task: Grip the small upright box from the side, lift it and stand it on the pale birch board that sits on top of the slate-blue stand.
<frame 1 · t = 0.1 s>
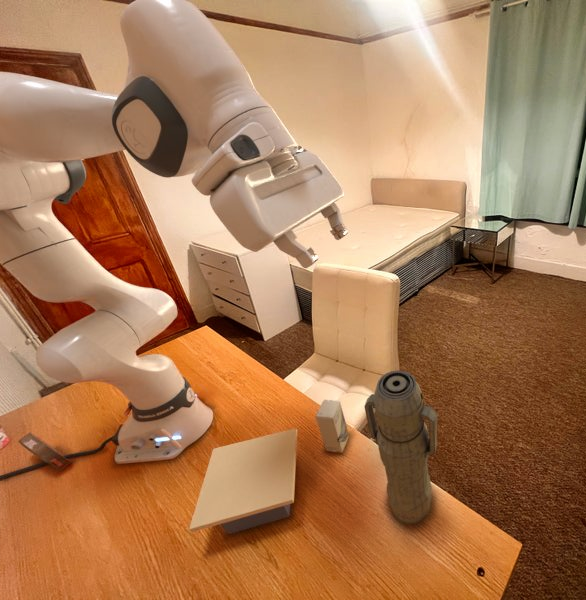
hand: (329, 249, 42), 54 cm above the table, tool tilted 30°, fingers open, 8 cm apart
stand: (263, 495, 68), on the table
box: (338, 443, 77), on the table
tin: (56, 461, 79), on the table
thermos: (410, 501, 65), on the table
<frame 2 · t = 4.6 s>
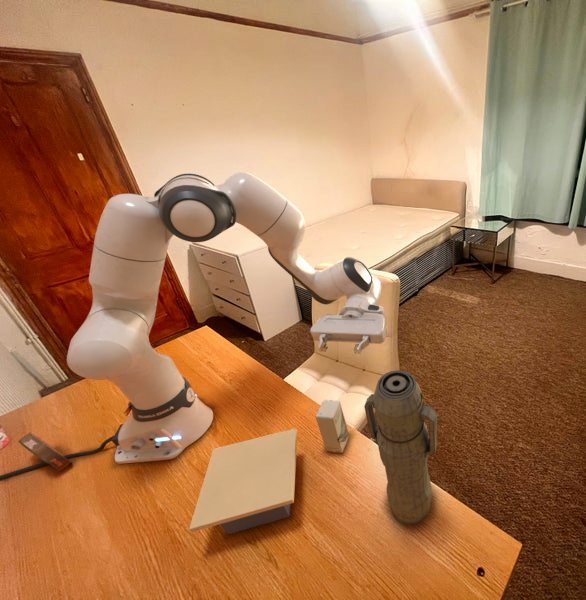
hand: (338, 350, 76), 21 cm above the table, tool horizontal, fingers open, 8 cm apart
nothing on the table moved.
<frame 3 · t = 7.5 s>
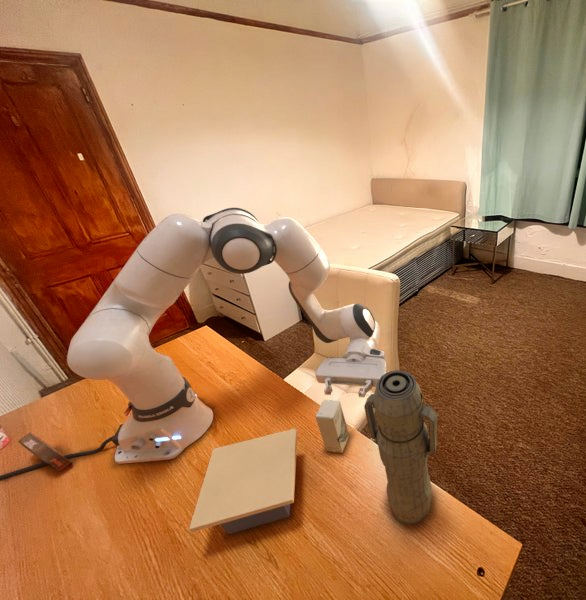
hand: (344, 394, 81), 7 cm above the table, tool horizontal, fingers open, 8 cm apart
nothing on the table moved.
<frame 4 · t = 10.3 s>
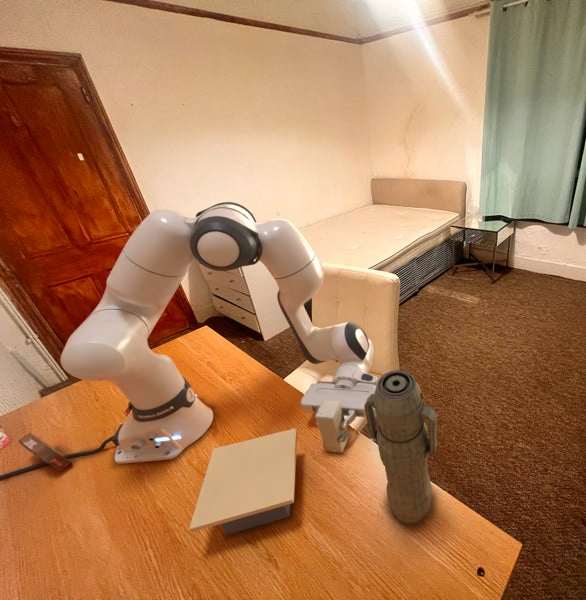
hand: (331, 427, 73), 7 cm above the table, tool horizontal, fingers closed on box, 4 cm apart
box: (338, 443, 77), on the table, touching gripper
everything else where it was.
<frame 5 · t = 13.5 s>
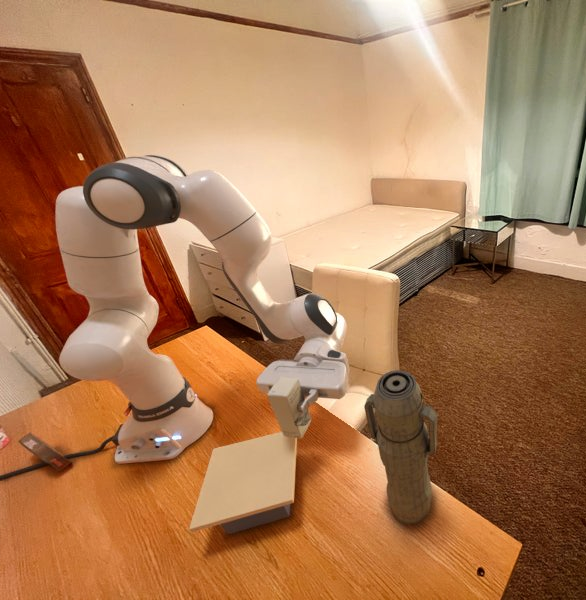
hand: (288, 409, 63), 20 cm above the table, tool horizontal, fingers closed on box, 4 cm apart
box: (298, 428, 67), point 12 cm above the table, touching gripper
everything else where it was.
when the fingers open (16 cm above the table, at t = 17.0 s): box stays where it is, resting on stand.
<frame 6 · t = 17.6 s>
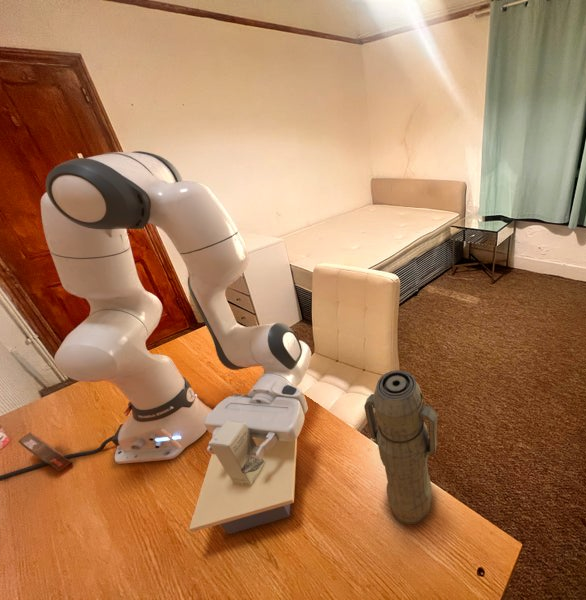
hand: (233, 454, 58), 17 cm above the table, tool horizontal, fingers open, 8 cm apart
box: (250, 472, 63), point 9 cm above the table, touching stand
everything else where it was.
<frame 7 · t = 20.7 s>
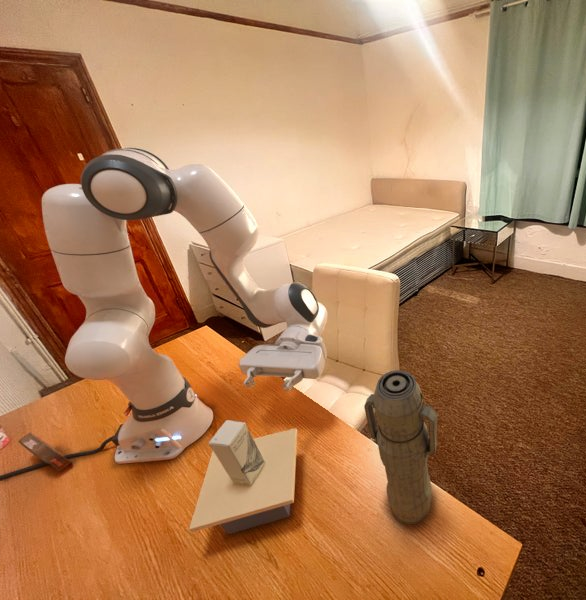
hand: (266, 387, 68), 20 cm above the table, tool horizontal, fingers open, 8 cm apart
nothing on the table moved.
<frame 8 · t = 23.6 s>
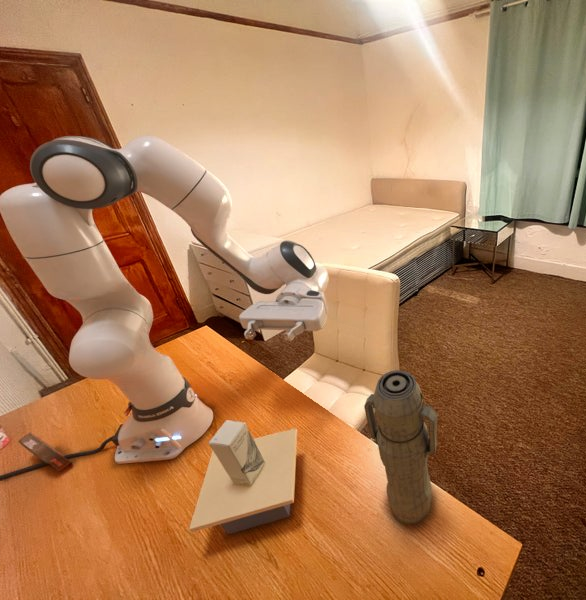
hand: (267, 337, 67), 30 cm above the table, tool horizontal, fingers open, 8 cm apart
nothing on the table moved.
at the end: box inside the target area on the stand (0.1 cm from its centre), point 9.0 cm above the stand's base; box tilted 0°; the gripper is holding nothing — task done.
